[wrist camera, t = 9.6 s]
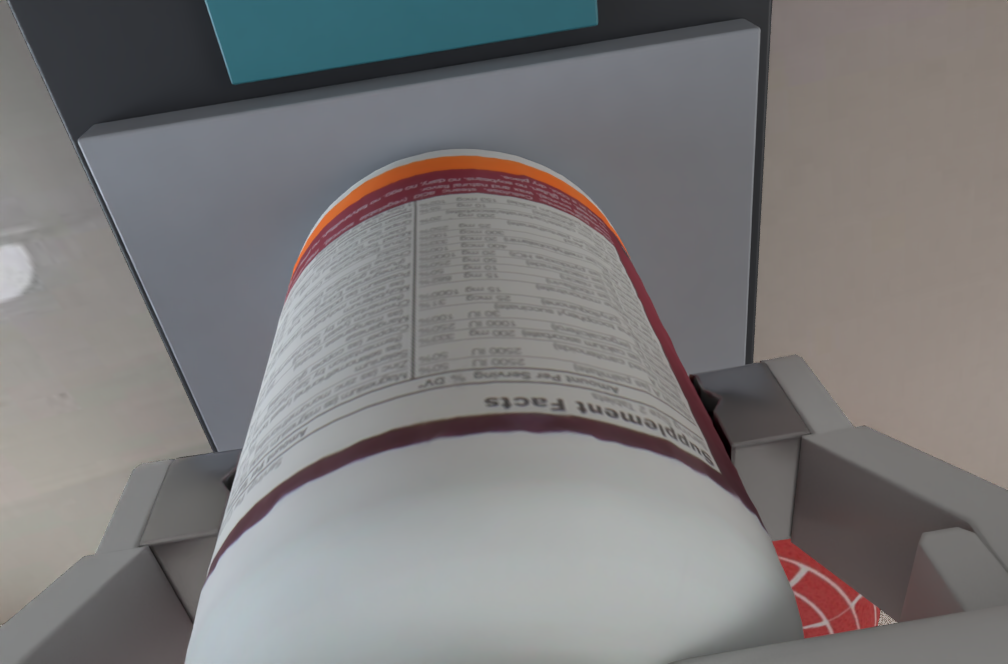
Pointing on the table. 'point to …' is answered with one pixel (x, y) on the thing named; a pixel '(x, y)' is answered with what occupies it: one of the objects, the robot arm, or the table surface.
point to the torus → (823, 595)
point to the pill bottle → (481, 448)
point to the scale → (403, 145)
